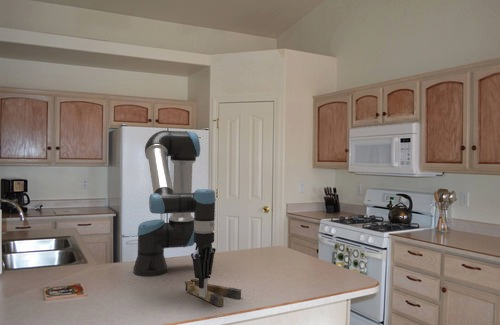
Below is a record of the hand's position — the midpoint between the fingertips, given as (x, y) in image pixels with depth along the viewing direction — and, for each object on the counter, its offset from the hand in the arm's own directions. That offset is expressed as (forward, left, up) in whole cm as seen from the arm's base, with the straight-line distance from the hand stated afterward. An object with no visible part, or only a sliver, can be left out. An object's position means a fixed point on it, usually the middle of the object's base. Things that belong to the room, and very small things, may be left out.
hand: (202, 296), depth 146 cm
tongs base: (-1, +9, -2) cm, 9 cm away
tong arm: (-2, +3, -2) cm, 4 cm away
